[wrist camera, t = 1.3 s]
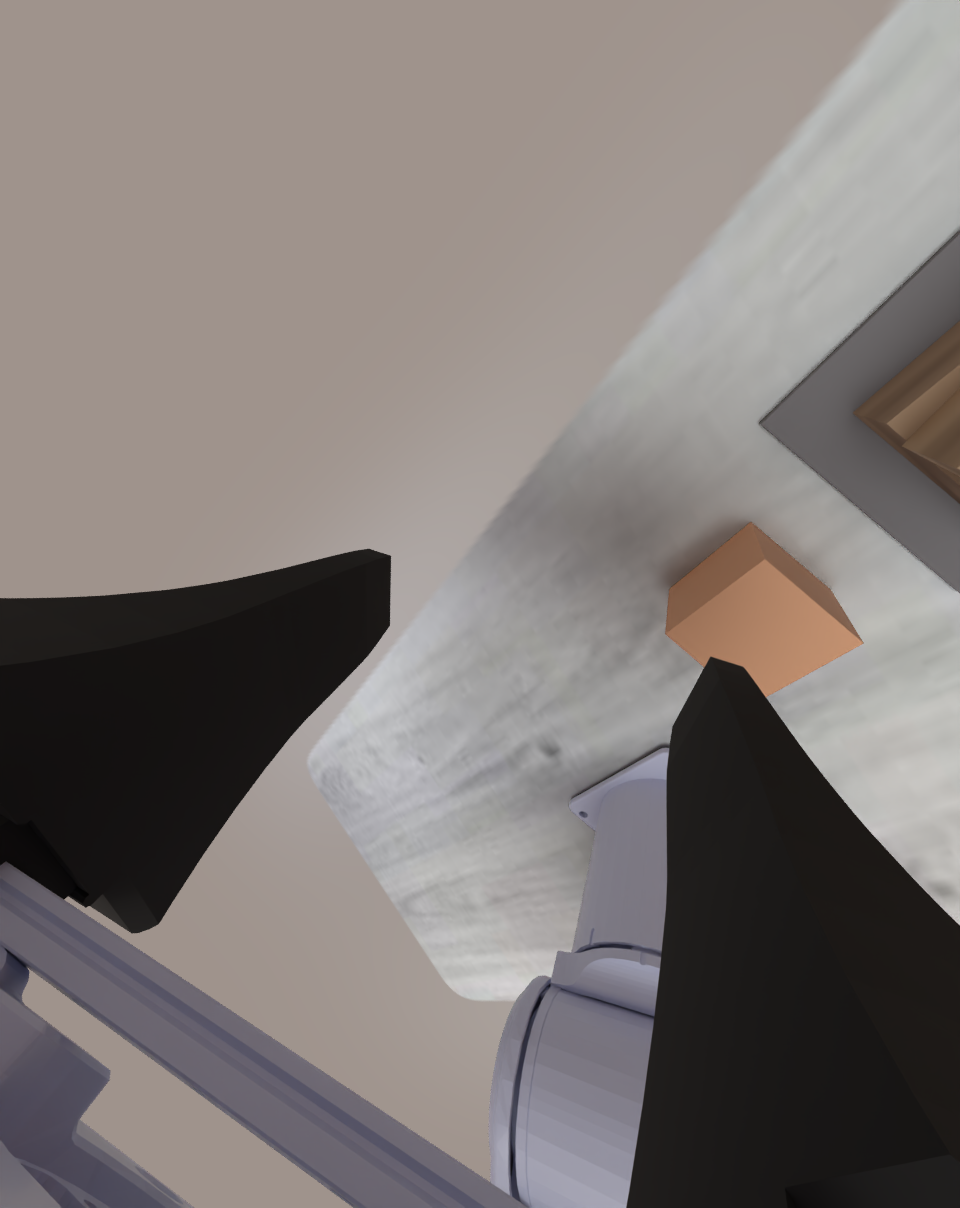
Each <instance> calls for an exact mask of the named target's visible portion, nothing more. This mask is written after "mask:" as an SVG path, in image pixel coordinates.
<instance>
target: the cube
mask: <svg viewBox="0 0 960 1208" xmlns="http://www.w3.org/2000/svg"><path fill="white" fill-rule="evenodd" d="M665 634H666V635H667V636H668V637H669V638H671V639H672V640H673V641H674V642H675V643H676V644H678V645H679V646H680V647H681V648H682V649H683V650H685V651H686V652H687V653H688V654H689V655H690V656H692V657H693V658H694V659H695V660H696V661H697V662H699V663H700V664H701V665H702V666H703V667H705V666H706V664H707V662H708V660H709V658H710V656H711V657H714V658H717V659H720V660H724V661H727V662H730V663H733V664H736V665H739V666H743V667H744V668H745V669H746V670H747V672H748V673H749V674H750V676H751V677H752V678H753V680H754V681H755V683H756V684H757V685H758V687H759V688H760V690H761V691H762V693H763V694H764V695H765V697H767V696H769V695H771V694H773V693H774V692H776V691H778V690H780V689H782V688H783V687H785V686H787V685H789V684H791V683H793V682H794V681H796V680H798V679H800V678H802V677H803V676H805V675H807V674H809V673H811V672H813V671H814V670H816V669H818V668H820V667H822V666H823V665H825V664H827V663H829V662H831V661H833V660H834V659H836V658H838V657H840V656H842V655H843V654H845V653H847V652H849V651H851V650H853V649H854V648H856V647H858V646H860V645H862V644H863V641H862V640H861V638H860V637H859V635H858V633H857V632H856V630H855V628H854V627H853V625H852V623H851V622H850V620H849V619H848V617H847V615H846V614H845V612H844V610H843V609H842V607H841V606H840V604H839V602H838V601H837V599H836V597H835V596H834V594H833V593H832V591H831V590H830V589H829V588H828V587H827V586H826V585H824V584H823V583H822V582H821V581H820V580H819V579H817V578H816V577H815V576H814V575H813V574H811V573H810V572H809V571H808V570H807V569H806V568H804V567H803V566H802V565H801V564H800V563H799V562H797V561H796V560H795V559H794V558H793V557H792V556H790V555H789V554H788V553H787V552H786V551H785V550H783V549H782V548H781V547H780V546H779V545H778V544H776V543H775V542H774V541H773V540H772V539H770V538H769V537H768V536H767V535H766V534H765V533H763V532H762V531H761V530H760V529H759V528H758V527H756V526H755V525H754V524H753V523H752V522H750V523H749V524H748V525H746V526H745V527H744V528H743V529H741V530H740V531H739V532H738V533H737V534H735V535H734V536H733V537H732V538H731V539H729V540H728V541H727V542H726V543H724V544H723V545H722V546H721V547H720V548H718V549H717V550H716V551H715V552H714V553H712V554H711V555H710V556H709V557H708V558H706V559H705V560H704V561H703V562H701V563H700V564H699V565H698V566H697V567H695V568H694V569H693V570H692V571H691V572H689V573H688V574H687V575H686V576H684V577H683V578H682V579H681V580H680V581H678V582H677V583H676V584H675V585H674V586H672V587H671V588H670V589H669V598H668V609H667V620H666V631H665Z"/></svg>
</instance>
